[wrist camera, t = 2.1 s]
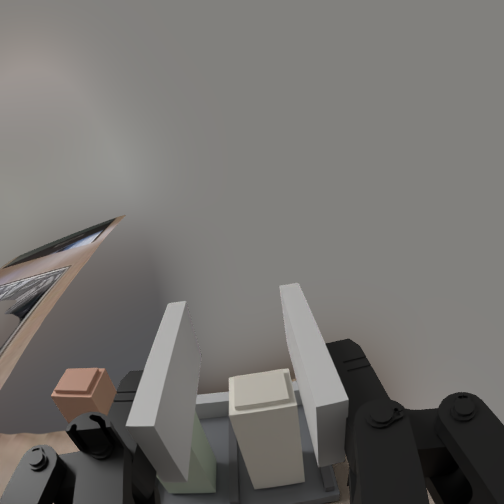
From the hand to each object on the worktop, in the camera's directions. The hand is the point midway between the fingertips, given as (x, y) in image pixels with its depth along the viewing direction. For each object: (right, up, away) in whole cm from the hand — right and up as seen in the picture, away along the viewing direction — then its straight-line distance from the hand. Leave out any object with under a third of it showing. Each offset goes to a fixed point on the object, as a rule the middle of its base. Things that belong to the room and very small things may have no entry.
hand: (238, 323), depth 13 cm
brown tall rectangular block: (-13, -19, +14) cm, 27 cm away
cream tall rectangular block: (+3, -17, +12) cm, 21 cm away
